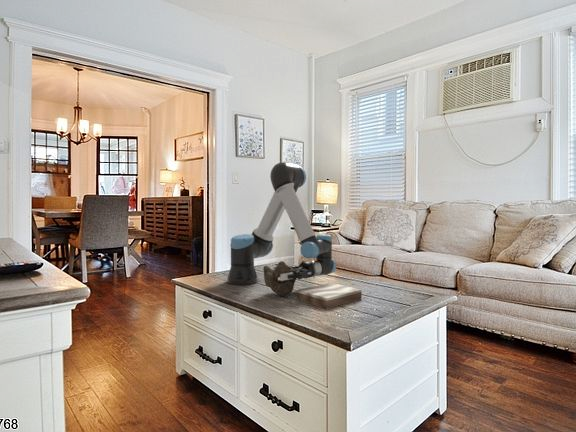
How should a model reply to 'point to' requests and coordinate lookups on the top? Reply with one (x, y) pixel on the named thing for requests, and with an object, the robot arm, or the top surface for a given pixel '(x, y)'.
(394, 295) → the top surface
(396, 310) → the top surface
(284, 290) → the decorative stone
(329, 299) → the block
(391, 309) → the top surface
